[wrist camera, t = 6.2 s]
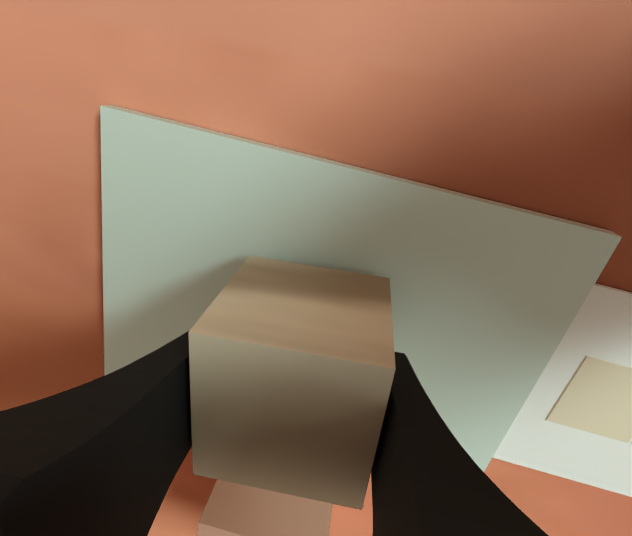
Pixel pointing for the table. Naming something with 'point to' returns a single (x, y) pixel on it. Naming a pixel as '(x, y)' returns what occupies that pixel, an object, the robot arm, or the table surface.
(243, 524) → the pinkish tan cube
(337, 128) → the table surface
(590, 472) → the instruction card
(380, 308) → the beech block
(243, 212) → the plate
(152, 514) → the robot arm
